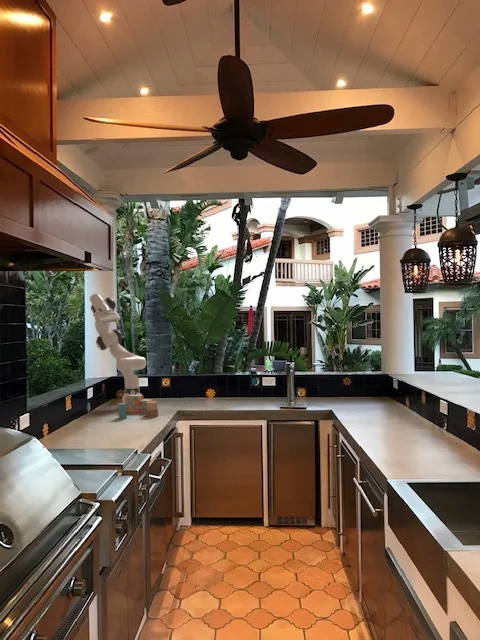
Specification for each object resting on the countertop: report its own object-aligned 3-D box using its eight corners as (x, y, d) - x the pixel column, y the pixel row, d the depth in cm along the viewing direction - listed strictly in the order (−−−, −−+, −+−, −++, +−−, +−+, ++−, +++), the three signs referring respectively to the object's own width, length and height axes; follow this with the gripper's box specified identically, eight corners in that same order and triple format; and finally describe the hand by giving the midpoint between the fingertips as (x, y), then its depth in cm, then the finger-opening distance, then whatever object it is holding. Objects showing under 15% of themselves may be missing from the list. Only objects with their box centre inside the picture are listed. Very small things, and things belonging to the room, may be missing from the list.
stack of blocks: (153, 412, 357) (153, 395, 357) (148, 413, 351) (148, 396, 351) (131, 410, 367) (130, 394, 367) (125, 411, 361) (125, 395, 361)
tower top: (146, 408, 344) (146, 401, 344) (156, 408, 346) (156, 401, 346) (147, 410, 337) (147, 403, 337) (157, 409, 339) (157, 402, 339)
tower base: (145, 415, 345) (145, 408, 345) (156, 414, 347) (156, 407, 347) (146, 417, 337) (146, 410, 337) (158, 416, 339) (158, 409, 339)
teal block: (119, 417, 338) (118, 403, 338) (126, 417, 339) (126, 402, 339) (119, 419, 333) (119, 404, 333) (126, 418, 334) (126, 404, 334)
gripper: (112, 313, 372) (121, 327, 368) (91, 315, 355) (100, 330, 351) (116, 307, 369) (125, 321, 365) (95, 310, 352) (104, 324, 348)
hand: (113, 325), depth 358 cm, fingers open, 8 cm apart
